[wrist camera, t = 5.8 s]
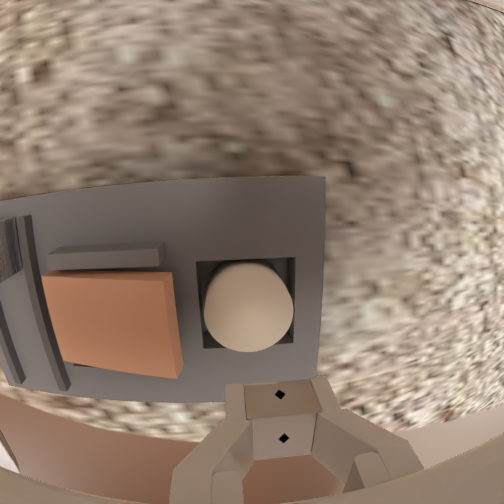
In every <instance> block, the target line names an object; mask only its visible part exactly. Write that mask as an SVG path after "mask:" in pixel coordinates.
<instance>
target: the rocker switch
mask: <svg viewBox="0 0 504 504" xmlns="http://www.w3.org/2000/svg"><path fill="white" fill-rule="evenodd" d="M41 277H42V282H43V287H44V292H45V296H46V300H47V305H48V309H49V313H50V317H51V321H52V324H53V328H54V332H55V335H56V339H57V342H58V345H59V348H60V352H61V355H62V358H63V361H68V362H73V363H77V364H82V365H87V366H92V367H98V368H103V369H109V370H115V371H121V372H127V373H134V374H141V375H149V376H156V377H165V378H174V379H177V378H178V376H179V374H180V372H181V370H182V368H183V366H184V364H183V357H182V351H181V344H180V336H179V329H178V321H177V313H176V305H175V296H174V287H173V278H172V272H133V271H95V270H52V271H50V272H48V273H46V274H44V275H42V276H41Z"/></svg>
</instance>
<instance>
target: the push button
mask: <svg viewBox="0 0 504 504" xmlns="http://www.w3.org/2000/svg"><path fill="white" fill-rule="evenodd" d="M292 318H293V302H292V299H291V296H290V294H289V292H288V290H287V288H286V287H285V285H284V283H283V281H282V279H281V277H280V275H279V274H278V272H277V271H276V269H275V268H274V267H273V266H272V265H271V264H270V263H269V262H267V261H266V260H264V259H240V260H225V261H224V262H222V263H221V264H220V265H219V266H217V267H216V269H215V270H214V271H213V272H212V274H211V276H210V278H209V280H208V284H207V291H206V299H205V308H204V319H205V323H206V326H207V329H208V331H209V332H210V334H211V335H212V337H213V338H214V339H215V340H216V341H217V342H219V343H220V344H221V345H223V346H225V347H227V348H229V349H231V350H235V351H239V352H255V351H260V350H263V349H266V348H268V347H270V346H272V345H274V344H275V343H276V342H278V341H279V340H280V339H281V338H282V337H283V336H284V335H285V333H286V332H287V331H288V329H289V327H290V325H291V322H292Z"/></svg>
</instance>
